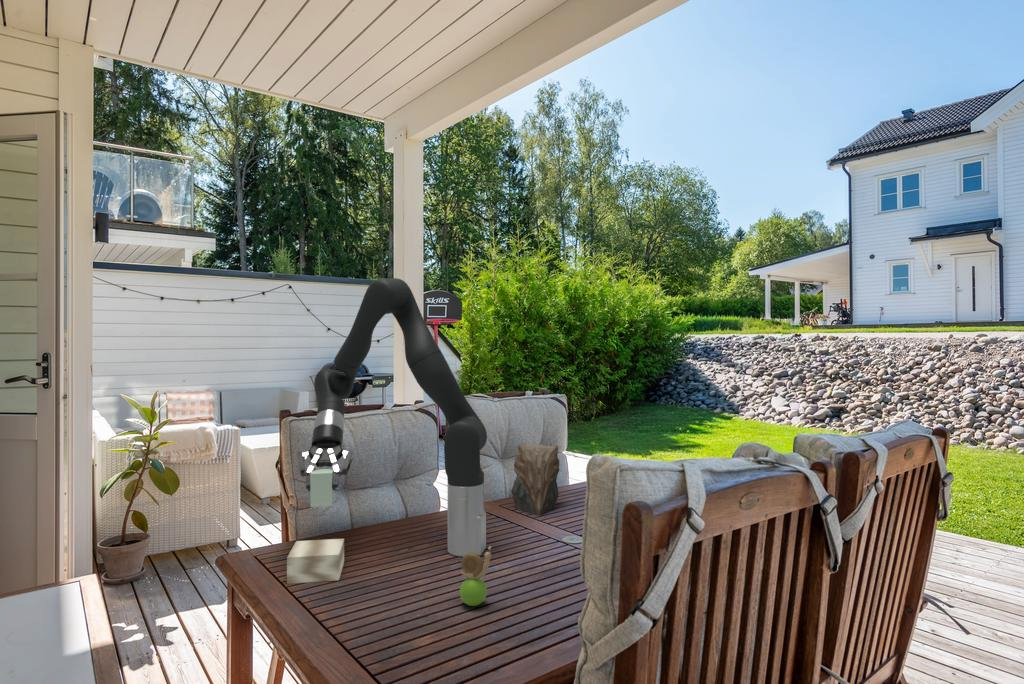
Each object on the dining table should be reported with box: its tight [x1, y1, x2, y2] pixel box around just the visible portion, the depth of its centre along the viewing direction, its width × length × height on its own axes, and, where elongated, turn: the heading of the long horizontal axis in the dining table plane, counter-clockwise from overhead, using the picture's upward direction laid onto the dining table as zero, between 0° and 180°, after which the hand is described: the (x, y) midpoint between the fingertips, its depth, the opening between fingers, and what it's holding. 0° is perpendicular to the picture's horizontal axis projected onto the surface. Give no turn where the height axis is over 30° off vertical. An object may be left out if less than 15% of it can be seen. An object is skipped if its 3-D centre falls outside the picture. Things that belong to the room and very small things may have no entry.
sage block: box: [309, 468, 336, 508], centre depth 147 cm, size 5×5×8 cm
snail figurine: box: [459, 545, 492, 607], centre depth 121 cm, size 5×6×12 cm
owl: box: [510, 443, 560, 517], centre depth 191 cm, size 13×13×20 cm
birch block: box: [286, 538, 345, 585], centre depth 138 cm, size 11×11×6 cm
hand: (321, 488), depth 145 cm, fingers closed on sage block, 5 cm apart
